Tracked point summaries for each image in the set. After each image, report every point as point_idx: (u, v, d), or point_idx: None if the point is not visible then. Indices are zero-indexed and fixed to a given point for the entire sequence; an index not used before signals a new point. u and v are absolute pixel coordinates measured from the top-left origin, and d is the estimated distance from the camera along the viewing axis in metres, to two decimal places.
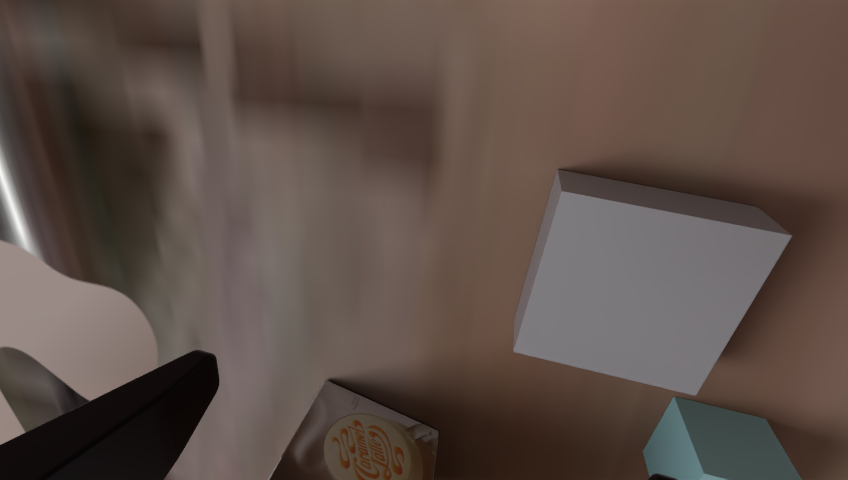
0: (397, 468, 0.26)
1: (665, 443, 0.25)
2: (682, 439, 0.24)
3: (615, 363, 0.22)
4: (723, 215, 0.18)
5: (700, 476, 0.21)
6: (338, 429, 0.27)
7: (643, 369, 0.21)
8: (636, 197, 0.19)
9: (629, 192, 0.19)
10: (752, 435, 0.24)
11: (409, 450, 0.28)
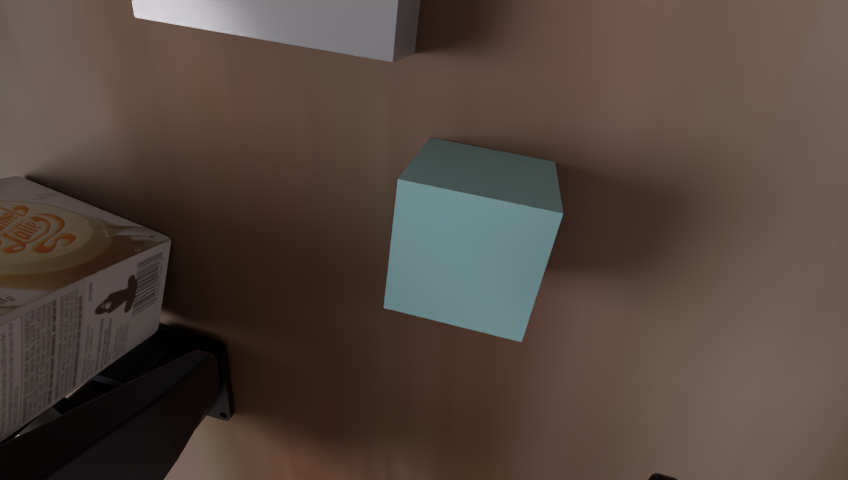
0: (44, 248, 0.18)
1: None
2: None
3: (269, 13, 0.14)
4: None
5: None
6: None
7: (308, 18, 0.13)
8: None
9: None
10: (519, 167, 0.16)
11: (90, 240, 0.20)
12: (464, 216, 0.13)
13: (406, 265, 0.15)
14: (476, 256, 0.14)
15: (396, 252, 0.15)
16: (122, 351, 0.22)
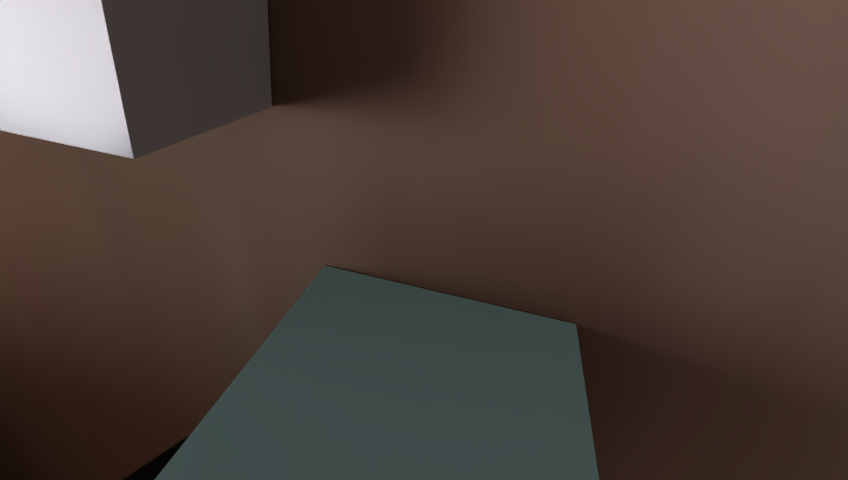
0: None
1: None
2: None
3: None
4: None
5: None
6: None
7: None
8: None
9: None
10: (498, 369, 0.07)
11: None
12: None
13: None
14: None
15: None
16: None
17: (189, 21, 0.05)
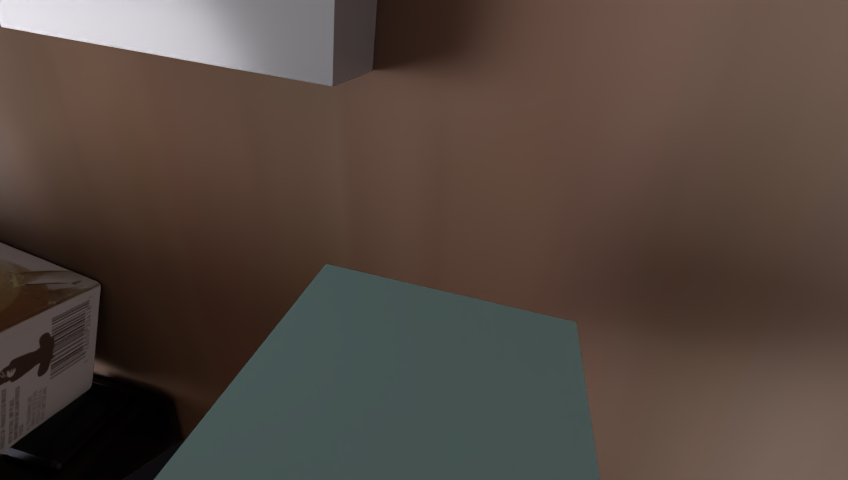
0: None
1: None
2: None
3: (168, 21, 0.10)
4: None
5: None
6: None
7: (219, 28, 0.10)
8: None
9: None
10: (499, 366, 0.07)
11: None
12: None
13: None
14: None
15: None
16: (40, 419, 0.19)
17: (353, 20, 0.10)
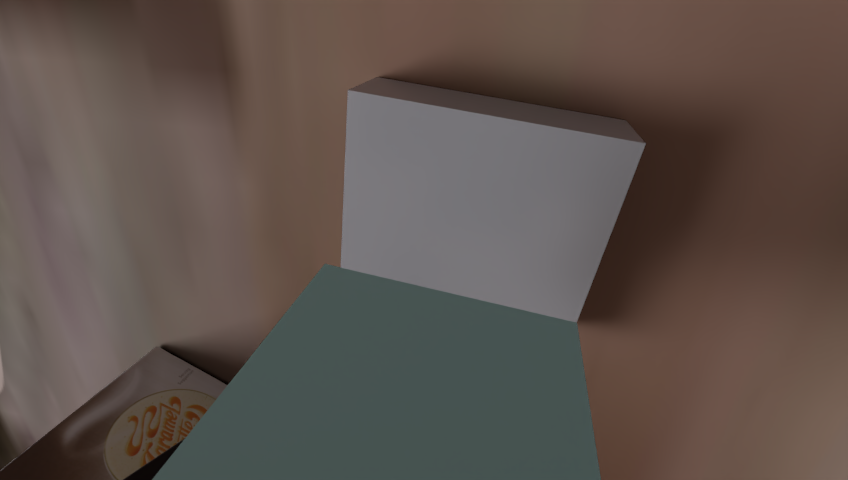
0: None
1: None
2: None
3: None
4: (564, 122, 0.14)
5: None
6: (144, 406, 0.23)
7: None
8: (455, 102, 0.14)
9: (451, 98, 0.15)
10: (499, 367, 0.07)
11: None
12: None
13: None
14: None
15: None
16: None
17: None
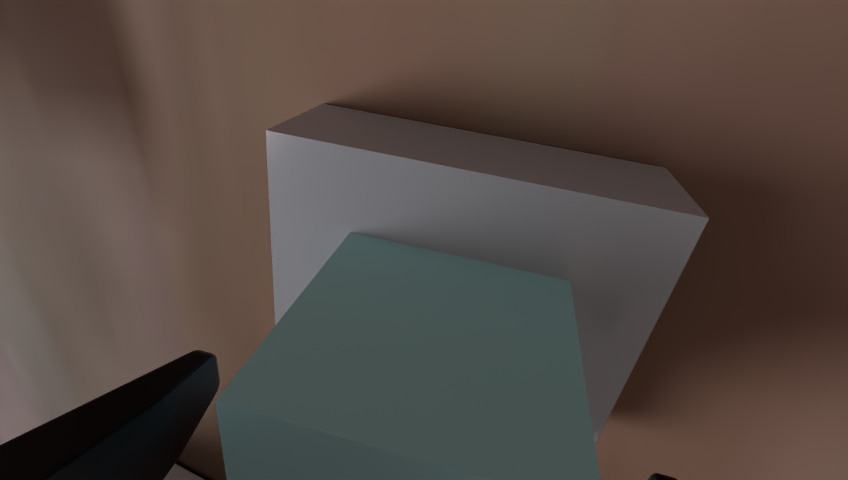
0: None
1: None
2: None
3: None
4: (583, 179, 0.09)
5: (218, 416, 0.06)
6: None
7: None
8: (424, 145, 0.10)
9: (421, 138, 0.10)
10: (503, 312, 0.08)
11: None
12: None
13: None
14: None
15: None
16: None
17: None
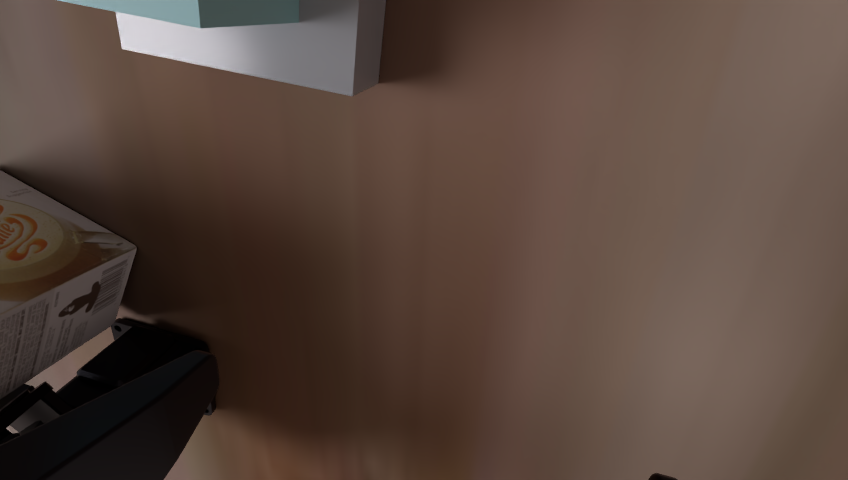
0: (17, 254, 0.20)
1: None
2: None
3: (242, 50, 0.15)
4: None
5: None
6: None
7: (277, 55, 0.15)
8: None
9: None
10: None
11: (60, 247, 0.22)
12: None
13: None
14: None
15: None
16: (78, 344, 0.24)
17: (366, 51, 0.16)
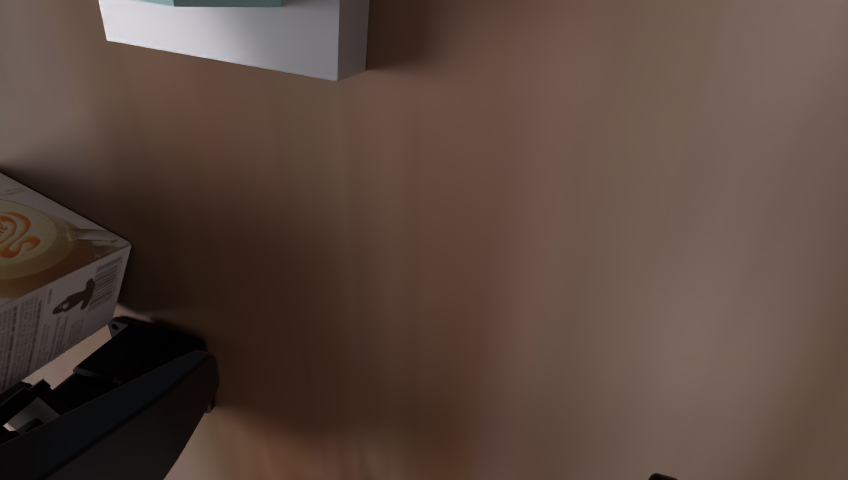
0: (10, 252, 0.20)
1: None
2: None
3: (226, 37, 0.15)
4: None
5: None
6: None
7: (261, 42, 0.15)
8: None
9: None
10: None
11: (54, 244, 0.22)
12: None
13: None
14: None
15: None
16: (75, 341, 0.24)
17: (351, 36, 0.15)
